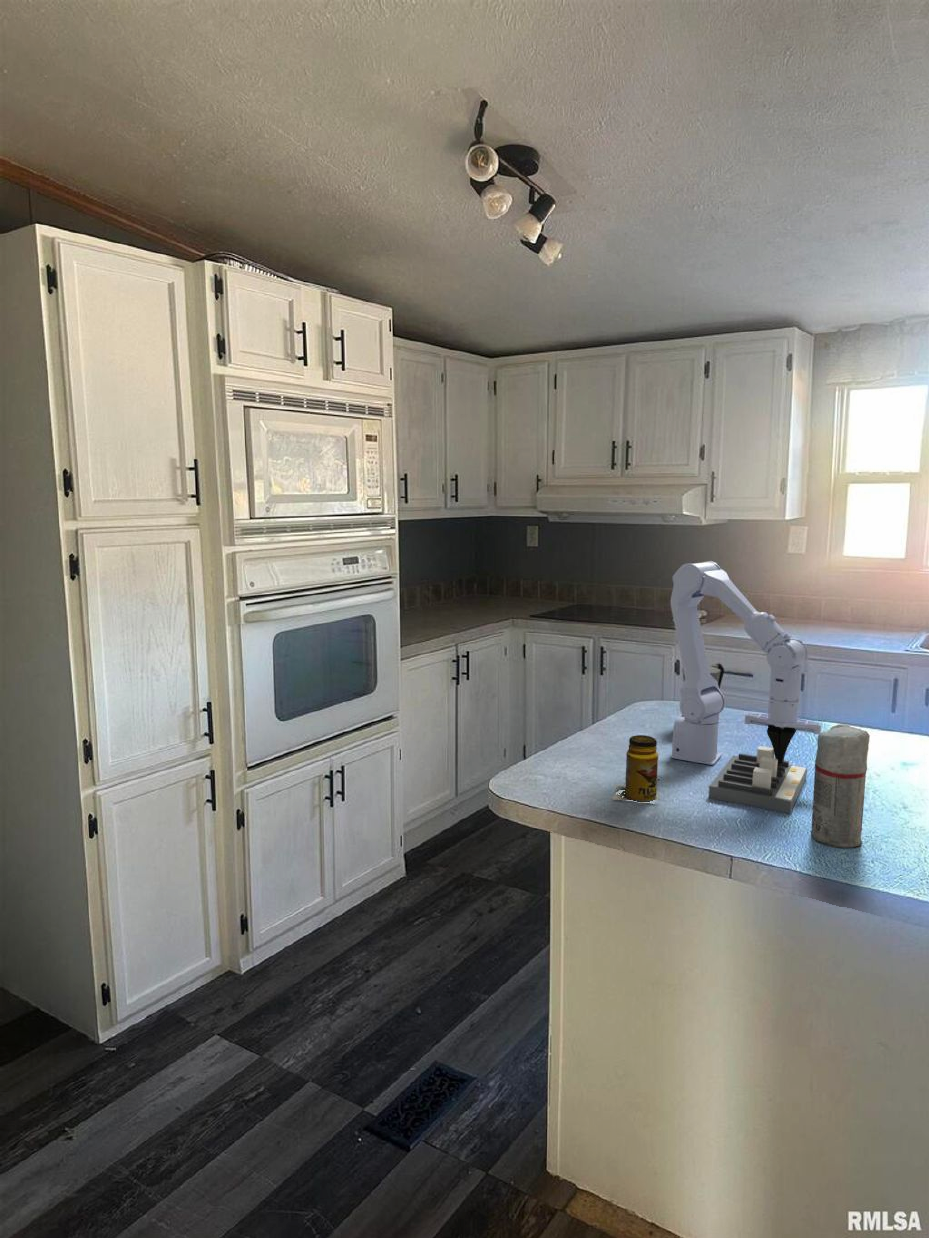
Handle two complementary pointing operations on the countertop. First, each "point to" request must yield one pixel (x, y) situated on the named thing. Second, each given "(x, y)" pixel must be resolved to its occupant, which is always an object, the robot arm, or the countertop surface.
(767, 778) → the tab front
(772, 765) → the tab middle
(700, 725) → the robot arm
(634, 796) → the condiment
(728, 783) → the switch panel
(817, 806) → the spray can
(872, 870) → the countertop surface
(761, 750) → the tab back
